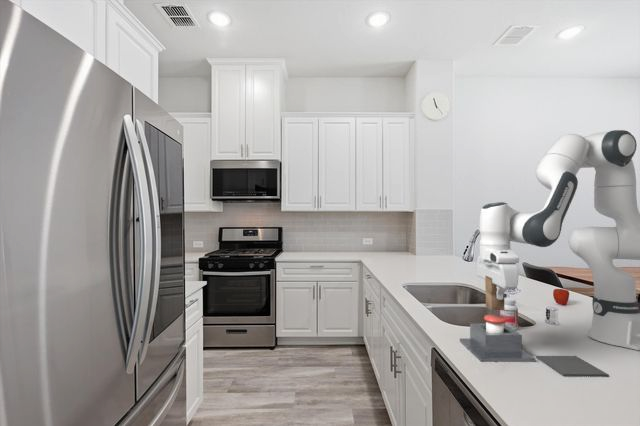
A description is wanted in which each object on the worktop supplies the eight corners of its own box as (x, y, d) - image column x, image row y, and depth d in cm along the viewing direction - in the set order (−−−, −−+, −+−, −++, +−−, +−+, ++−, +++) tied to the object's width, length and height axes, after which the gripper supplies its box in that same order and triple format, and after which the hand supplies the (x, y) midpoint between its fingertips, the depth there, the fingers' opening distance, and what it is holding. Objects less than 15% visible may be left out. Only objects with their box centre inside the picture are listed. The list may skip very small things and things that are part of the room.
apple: (551, 304, 165) (551, 288, 165) (555, 302, 169) (555, 286, 169) (567, 307, 161) (567, 291, 161) (570, 304, 165) (570, 289, 165)
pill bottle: (507, 324, 136) (507, 296, 136) (521, 329, 130) (521, 300, 130) (495, 326, 134) (495, 297, 133) (509, 331, 128) (509, 301, 128)
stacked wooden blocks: (498, 306, 112) (497, 275, 112) (504, 309, 108) (504, 278, 108) (485, 306, 112) (485, 275, 112) (491, 310, 108) (491, 278, 108)
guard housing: (506, 341, 118) (506, 321, 118) (535, 361, 102) (535, 338, 102) (459, 341, 118) (459, 321, 118) (480, 361, 102) (480, 338, 102)
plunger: (499, 342, 113) (499, 314, 113) (509, 349, 107) (509, 320, 107) (481, 342, 113) (481, 314, 113) (489, 349, 107) (489, 320, 107)
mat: (575, 357, 105) (575, 355, 105) (608, 376, 93) (608, 374, 93) (536, 357, 105) (536, 355, 105) (563, 376, 93) (563, 374, 93)
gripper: (471, 249, 120) (471, 288, 121) (500, 258, 100) (500, 305, 100) (489, 249, 120) (489, 288, 121) (522, 258, 100) (522, 305, 100)
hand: (494, 296), depth 110 cm, fingers closed on stacked wooden blocks, 4 cm apart
